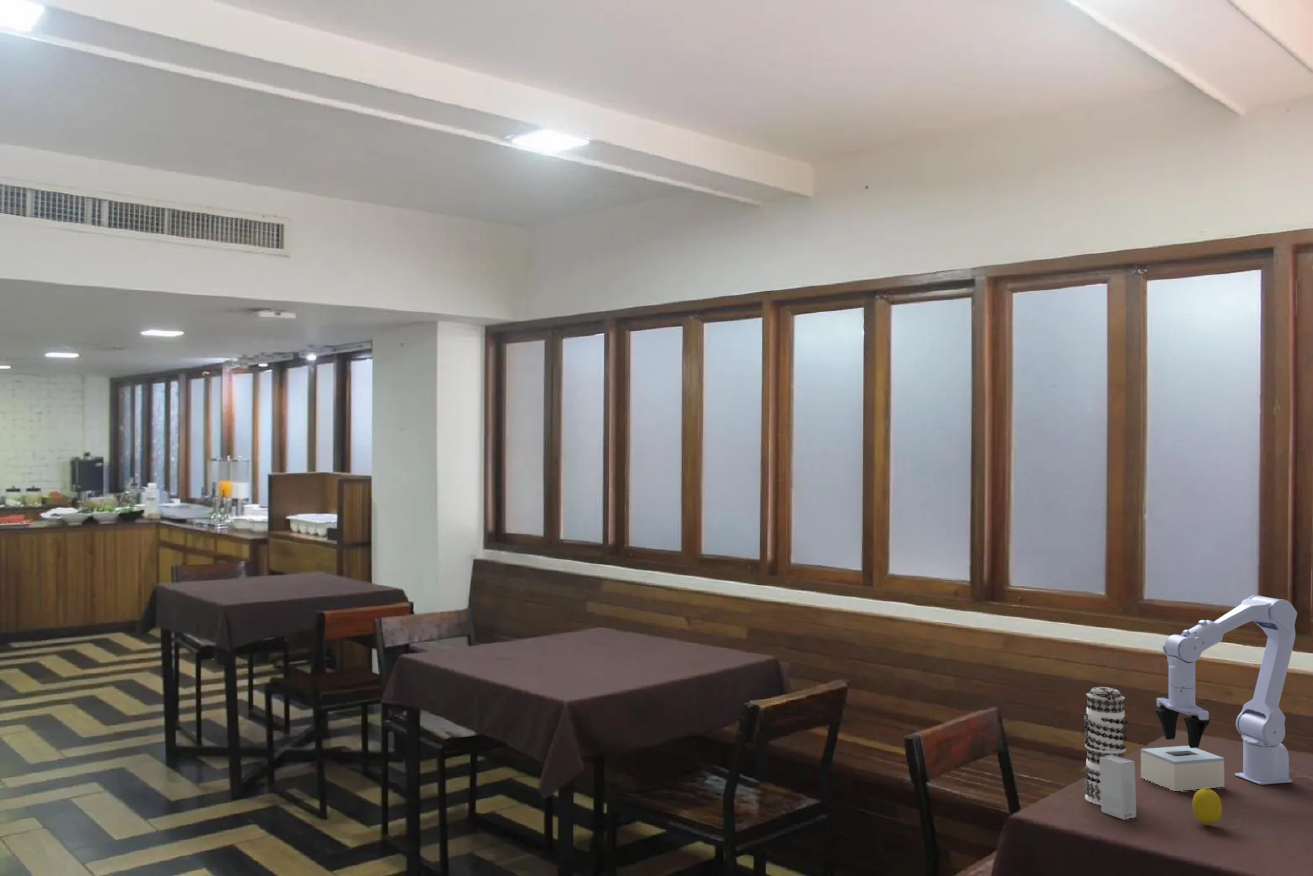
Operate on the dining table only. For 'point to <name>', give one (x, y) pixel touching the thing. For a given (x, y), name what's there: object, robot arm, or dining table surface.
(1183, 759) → the tissue box
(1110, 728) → the decorative candle
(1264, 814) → the dining table surface
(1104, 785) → the skincare box
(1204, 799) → the lemon
